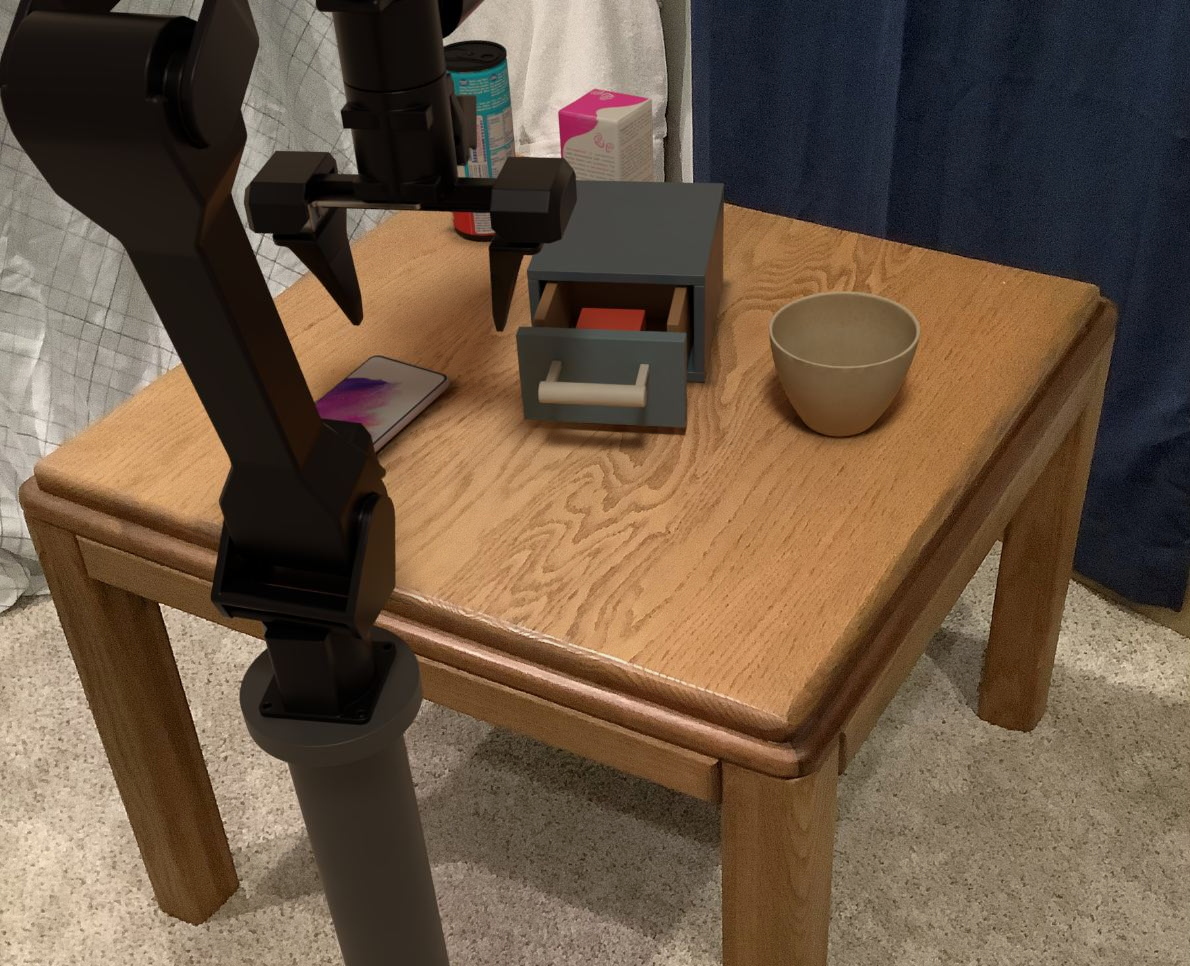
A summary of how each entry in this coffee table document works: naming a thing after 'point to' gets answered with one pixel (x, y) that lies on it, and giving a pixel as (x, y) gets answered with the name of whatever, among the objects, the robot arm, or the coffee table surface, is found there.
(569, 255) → the cabinet
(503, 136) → the teal canister
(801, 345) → the bowl
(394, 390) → the smartphone
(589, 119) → the supplement box
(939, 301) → the coffee table surface
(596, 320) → the block
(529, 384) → the drawer
